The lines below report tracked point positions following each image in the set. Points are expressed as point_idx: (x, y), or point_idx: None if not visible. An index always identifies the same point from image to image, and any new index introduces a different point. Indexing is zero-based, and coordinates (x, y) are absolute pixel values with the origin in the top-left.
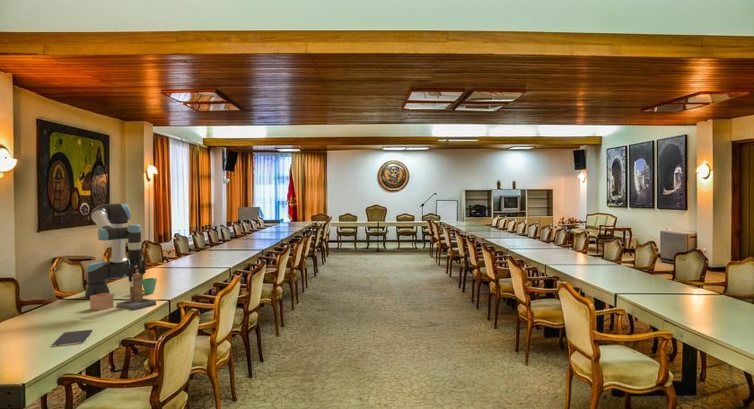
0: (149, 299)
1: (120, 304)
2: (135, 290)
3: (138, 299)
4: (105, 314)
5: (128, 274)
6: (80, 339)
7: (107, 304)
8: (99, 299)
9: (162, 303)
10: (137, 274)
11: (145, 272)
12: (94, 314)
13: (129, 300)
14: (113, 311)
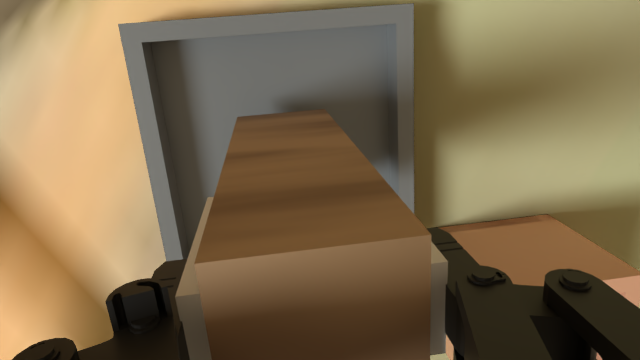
0: (144, 137)
1: (412, 201)
2: (341, 137)
3: (288, 116)
4: (578, 97)
5: (590, 291)
6: None
7: (506, 243)
8: (618, 264)
9: (49, 33)
10: (312, 288)
11: (23, 352)
12: (606, 174)
13: None
14: (487, 141)
